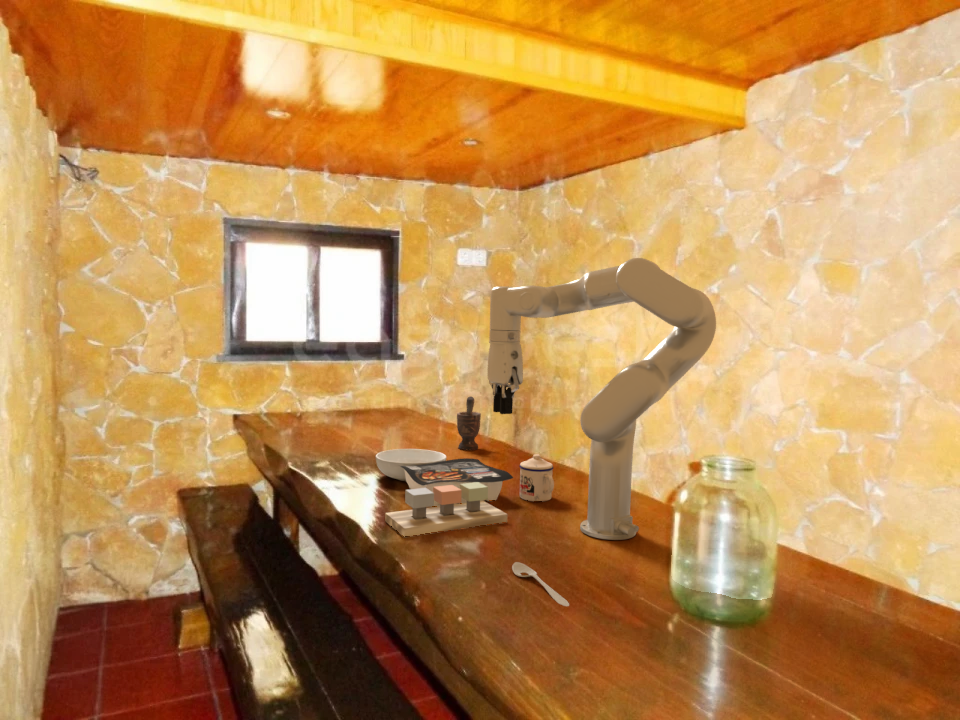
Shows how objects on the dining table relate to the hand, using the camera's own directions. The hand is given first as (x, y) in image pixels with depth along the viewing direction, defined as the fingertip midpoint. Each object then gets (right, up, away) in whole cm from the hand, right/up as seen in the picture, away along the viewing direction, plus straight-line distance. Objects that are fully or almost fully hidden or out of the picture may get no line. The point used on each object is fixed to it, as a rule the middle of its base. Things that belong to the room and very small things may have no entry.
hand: (502, 412), depth 160 cm
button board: (-13, -25, -6) cm, 29 cm away
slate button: (-20, -23, -10) cm, 32 cm away
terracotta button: (-13, -23, -6) cm, 27 cm away
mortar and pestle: (-9, -20, +77) cm, 80 cm away
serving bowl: (-26, -22, +35) cm, 49 cm away
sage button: (-7, -23, -3) cm, 24 cm away
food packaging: (-13, -24, +17) cm, 32 cm away
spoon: (+6, -29, -42) cm, 52 cm away
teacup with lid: (+10, -25, +15) cm, 31 cm away
